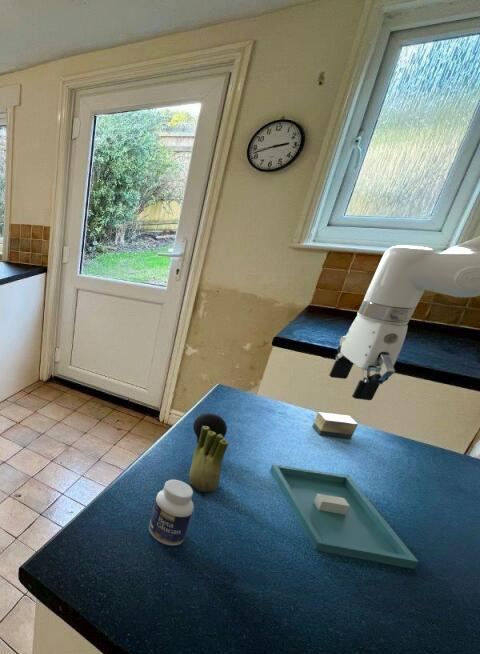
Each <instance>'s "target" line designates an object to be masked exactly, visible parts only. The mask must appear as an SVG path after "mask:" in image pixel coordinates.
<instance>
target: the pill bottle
mask: <svg viewBox="0 0 480 654" xmlns="http://www.w3.org/2000/svg"><path fill="white" fill-rule="evenodd" d="M193 495H194V491H193V488H192V486H191V485H190V484H188V483H186V482H184V481H182V480H179V479H169V480H167V481H165V483H164V486H163V489H162V490H160V491H158V493H157V494H156V497H155V501H154V505H153V508H152V512H151V516H150V520H149V524H148V530H149V533H150V535H151V536H152V537H153V538H154V539H155V540H156V541H157V542H159V543H161V544H163V545H167V546H173V547H174V546H179V545H181V544H182V543H184V540H185V538H186V534H187V531H188V528H189V525H190V521H191V519H192V516H193V513H194V509H195V506H194V502H193V500H192V499H193Z"/></svg>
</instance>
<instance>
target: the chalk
mask: <svg viewBox="0 0 480 654" xmlns="http://www.w3.org/2000/svg"><path fill="white" fill-rule="evenodd" d="M314 504H315V505H316V507H317V509H318V510H321V511H327V512H333V513H338V514H344V515H346V513H347V511H348V509H349V507H350V505H349V504H348V503H347V501H346V500H345V499H344V498H340V497H334V496H328V495H322V494H317V496H316V498H315V500H314Z"/></svg>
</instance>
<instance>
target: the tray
mask: <svg viewBox="0 0 480 654" xmlns="http://www.w3.org/2000/svg"><path fill="white" fill-rule="evenodd" d="M269 471H270V473H271V475H272V478H273V479H274V480H275V482H276V484H277V486H278V488H279V489H280V491H281V493H282V494H283V496H284V498H285V500H286V501H287V503H288V506H289V507H290V509H291V511H292V512H293V514H294V516H295V517H296V520H297V521H298V523H299V524H300V527H301V529H302V530H303V531H304V533H305V535H306V538H307V539H308V540H309V542H310V544H311V546H312V548H313V549H314V550H315V551H316V552H317V551H318V552H323V553H328V554H334V555H339V556H344V557H350V558H355V559H360V560H364V561H371V562H376V563H380V564H385V565H390V566H397V567H401V568H405V569H406V568H407V569H412V570H414V569H415V568H416V567H417V566H418V564H419V562H420V561H419V560H418V559H417V557H416V556H415V555H414V554H413V552H411V549H409V548H408V547H407V545H406V544H405V543H404V542H403V540H402V539H401V538H400V537H399V535H398V534H397V533H396V532H395V530H394V529H393V528H392V527H391V525H390V524H389V523H388V522H387V521H386V519H385V518H384V516H382V515H381V513H380V512H379V511H378V510H377V508H376V507H375V506H374V504H373V503H372V502H371V501H370V500H369V498H368V497H367V496H366V495H365V494H364V492H363V491H362V490H361V489H360V487H359V486H358V485H357V484H356V482H355V481H354V480H353V479H352V477H351V476H350V475H348V474H347V475H346V474H339V473H333V472H325V471H320V470H313V469H307V468H300V467H294V466H287V465H281V464H273V463H272V464H271V467H270V469H269ZM317 494H322V495H328V496H334V497H340V498H344V499H345V500H346V501H347V503H348V504H349V505H350V507H349V509H348V511H347V513H346V515H344V514H338V513H333V512H327V511H321V510H318V509H317V507H316V505H315V504H314V500H315V498H316V496H317Z"/></svg>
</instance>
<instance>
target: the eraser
mask: <svg viewBox="0 0 480 654" xmlns="http://www.w3.org/2000/svg"><path fill="white" fill-rule="evenodd" d="M358 425H359V424H358V423H357V422H356V421H355V420H354V419H353V417H351V415H346V414H339V413H338V414H337V413H329V412H322V411H318V412H317V414H316V416H315V419H314V421H313V424H312V428H313V430H314V431H315V432H316V433H317V435H318V436H323V437H329V438H330V437H331V438H338V439H346V440H352V437H353V436H354V433H355V431H356V430H357V427H358Z"/></svg>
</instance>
